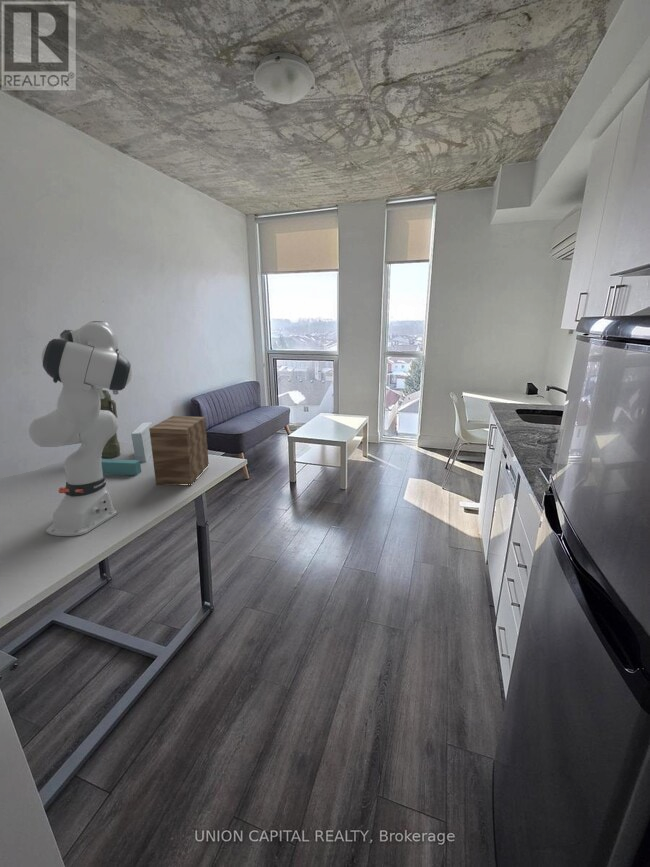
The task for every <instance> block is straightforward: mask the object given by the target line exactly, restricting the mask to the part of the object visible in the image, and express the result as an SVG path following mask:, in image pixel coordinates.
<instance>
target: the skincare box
mask: <svg viewBox="0 0 650 867" xmlns="http://www.w3.org/2000/svg"><path fill="white" fill-rule="evenodd" d="M153 426H154V425H153V422H152V421H149V422H142V423H141V424H140V425H139V426H138V427H137V428H135V430H133V432H131V434H130V437H131V441H132V446H133V451H134V457H135V458H134V459H135V460H140V463H147V462H148V460H149V459H150V458H151V456H152V455H151V454H152V447H151V439H150V431H149V428H151V427H153ZM149 457H150V458H149ZM146 461H147V462H146Z"/></svg>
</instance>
